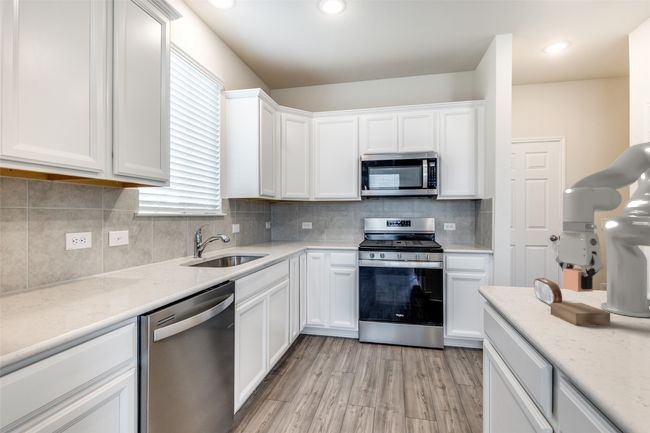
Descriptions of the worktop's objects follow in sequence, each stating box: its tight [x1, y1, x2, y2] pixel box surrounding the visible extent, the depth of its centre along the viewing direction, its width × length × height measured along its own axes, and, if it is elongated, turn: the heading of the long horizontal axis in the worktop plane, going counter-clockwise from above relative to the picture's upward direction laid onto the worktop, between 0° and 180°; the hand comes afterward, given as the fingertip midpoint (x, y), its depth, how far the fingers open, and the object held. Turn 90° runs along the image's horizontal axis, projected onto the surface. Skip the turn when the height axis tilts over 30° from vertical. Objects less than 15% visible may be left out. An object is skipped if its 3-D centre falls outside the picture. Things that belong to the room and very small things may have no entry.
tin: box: [533, 277, 563, 307], centre depth 111 cm, size 15×3×8 cm, turn 168°
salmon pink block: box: [562, 268, 594, 293], centre depth 94 cm, size 5×5×6 cm
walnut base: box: [550, 302, 611, 327], centre depth 94 cm, size 10×10×4 cm
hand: (577, 286), depth 94 cm, fingers closed on salmon pink block, 4 cm apart
